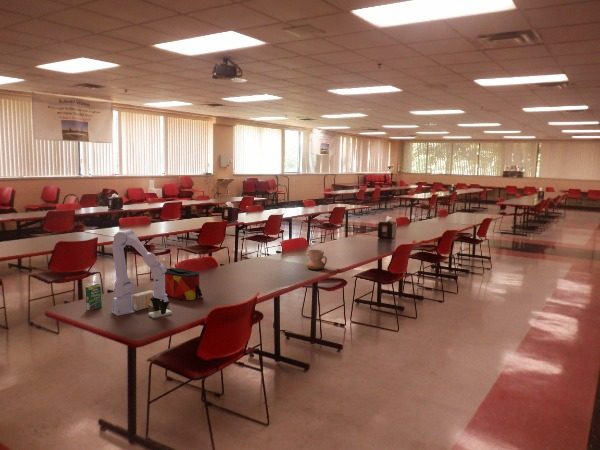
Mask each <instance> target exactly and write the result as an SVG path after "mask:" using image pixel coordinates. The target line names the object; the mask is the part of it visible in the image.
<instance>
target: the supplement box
mask: <svg viewBox="0 0 600 450" xmlns="http://www.w3.org/2000/svg"><path fill="white" fill-rule="evenodd" d="M152 292H154V289H153V290H152V289H150V290H146V291H142V292H137V293H134V294H131V306H132V310H133V311H139V310H144V309H147V308H148V304H152V301H151V300H150V298H152V297H153V296H152Z"/></svg>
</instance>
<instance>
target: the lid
mask: <svg viewBox="0 0 600 450" xmlns="http://www.w3.org/2000/svg"><path fill="white" fill-rule="evenodd" d="M168 314H172V315H173V311H172V310H170V309H169V310H168V309H166V313H165V314H161V310H160V311H155V312H148V314H147V315H149V316H148V317H150V316H151V317H150V318H152V317H153V318H152V319H154V317H158V316H163V315H168Z"/></svg>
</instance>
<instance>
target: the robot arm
mask: <svg viewBox="0 0 600 450" xmlns="http://www.w3.org/2000/svg"><path fill="white" fill-rule="evenodd" d="M126 246H133V248H134V249H135V250H136V251H137V252H138V253H139V254H140V255H141V256H142V260H143V262H144V263H145V264H146V265H147V266H148V267H149V269H150V271H151V272H150V273H151V274H152V277H153V291H154V292H152V296H153V297H152V298H150V300H151V301H152V304H153V307H154V310H155V311H157V310H159V305H160V310H161V314H165V313H166V309H167V306H168V304H169V305H170V300H169V297H167V294H165V274H164V273H165V272H166V271H167V269H168V267H167V265H166V263H163V262H162V261H160V260H159V259H158V258H157V257H156V254H155V253H152V252H149V251H148V250H147V249H146V247H145V246H144V245H143V243H142V242H141V241H140V239H139V237H138V235H137V234H136V233H135V231H133V229H128V228H127V229H125V230H122V231H118V232H116V233H115V234H114V235H113V241H112V244H111V248H112V249H111V250H112V255H113V262H114V269H115V275H116V276H115V277H116V281H114V288H113V294H114V296H115V297H112V298H111V313H112V314H114V315H115V316H122V315H128V314H132V313H135V311H136V310H133V309H132V293H133V291H134V288H135V287H134V284H133V283H132V279H130V277H129V276H128V270H127V263H126V258H125V257H126V256H125V250H124V248H125V247H126Z"/></svg>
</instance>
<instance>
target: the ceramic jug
mask: <svg viewBox="0 0 600 450" xmlns="http://www.w3.org/2000/svg"><path fill="white" fill-rule="evenodd" d="M324 252H325V251H324V250H321V249H309V250H307V253H306V254H305V255H306V256H308V257H309V259H310V260H309V261H307V262H306V264H305V265H306V268H308V269H309V270H314V271H318V270H320V271H321V270H322V269H323V270H324V269H325V267H326V265H327V262H328V258H327V256H326V255H324ZM322 259H324V262H323V260H322Z"/></svg>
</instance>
